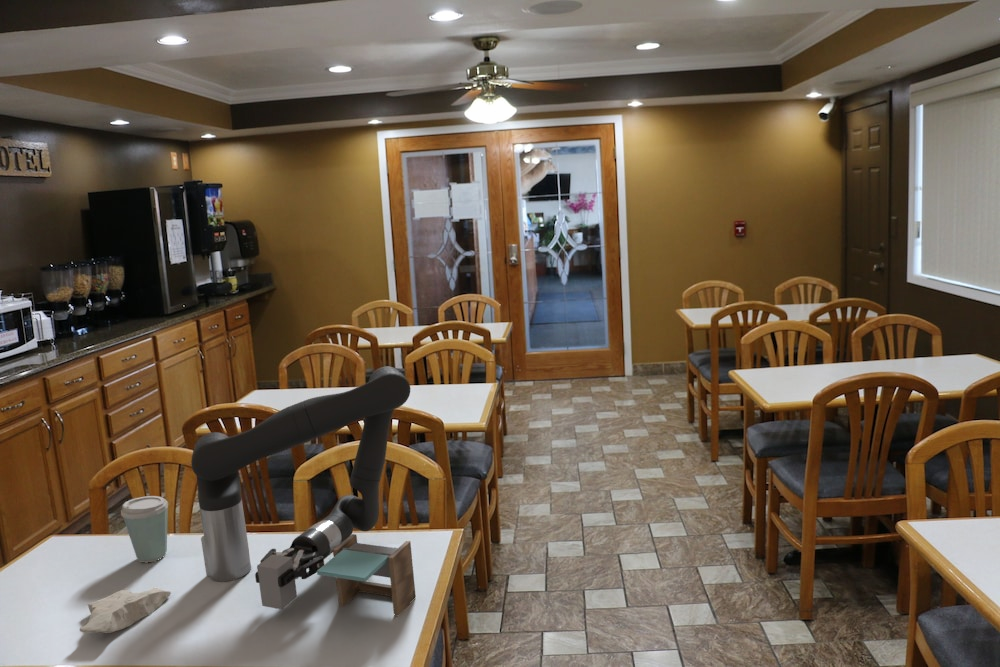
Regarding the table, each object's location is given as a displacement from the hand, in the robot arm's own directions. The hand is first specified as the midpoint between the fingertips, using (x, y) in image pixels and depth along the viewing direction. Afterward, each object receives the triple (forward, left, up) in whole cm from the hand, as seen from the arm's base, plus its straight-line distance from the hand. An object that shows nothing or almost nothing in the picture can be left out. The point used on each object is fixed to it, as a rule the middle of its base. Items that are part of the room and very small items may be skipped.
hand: (268, 580), depth 161 cm
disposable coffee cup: (-49, +16, -9) cm, 52 cm away
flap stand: (+17, +12, -9) cm, 23 cm away
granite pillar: (0, +3, -6) cm, 7 cm away
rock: (-34, -8, -9) cm, 37 cm away
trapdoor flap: (+17, +8, -2) cm, 19 cm away
